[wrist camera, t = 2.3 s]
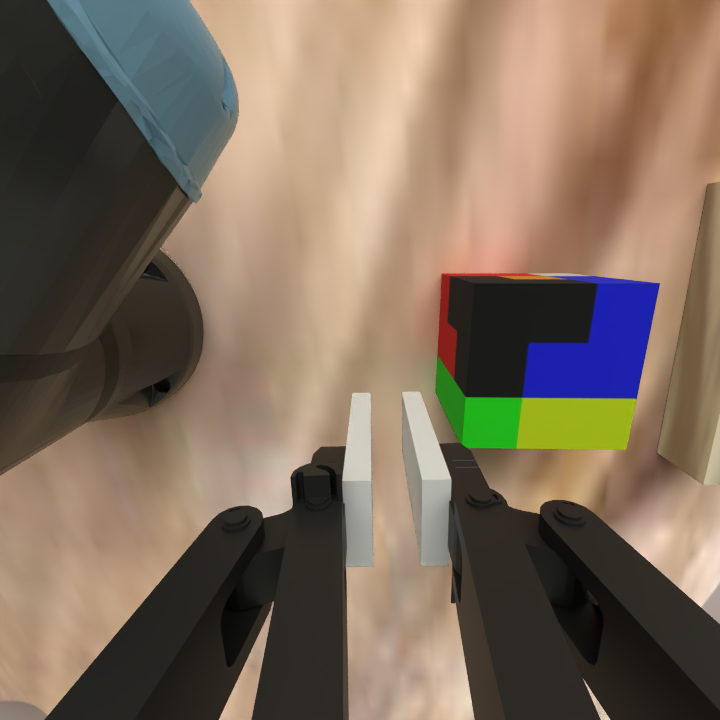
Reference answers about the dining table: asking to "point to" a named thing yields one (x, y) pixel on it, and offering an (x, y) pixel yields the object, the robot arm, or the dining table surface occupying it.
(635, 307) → the puzzle toy
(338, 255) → the dining table surface
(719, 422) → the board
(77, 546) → the dining table surface
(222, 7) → the dining table surface
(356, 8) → the dining table surface
